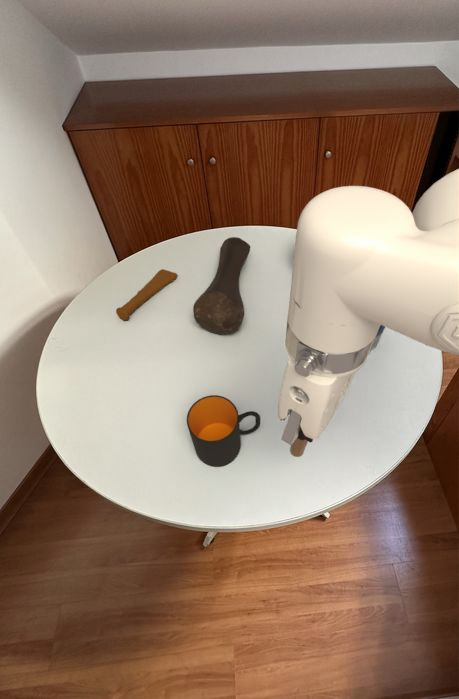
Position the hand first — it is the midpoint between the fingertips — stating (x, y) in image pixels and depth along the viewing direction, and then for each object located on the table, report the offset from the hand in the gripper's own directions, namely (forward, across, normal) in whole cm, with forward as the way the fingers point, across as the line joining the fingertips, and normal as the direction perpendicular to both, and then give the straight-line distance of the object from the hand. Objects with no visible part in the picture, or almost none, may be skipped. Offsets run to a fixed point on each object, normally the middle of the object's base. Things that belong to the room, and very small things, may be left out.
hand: (306, 426), depth 47 cm
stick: (+9, 0, 0) cm, 9 cm away
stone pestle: (+19, +30, +35) cm, 50 cm away
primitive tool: (+19, +20, +52) cm, 59 cm away
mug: (+19, -1, +13) cm, 23 cm away
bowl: (+19, +34, +5) cm, 39 cm away
